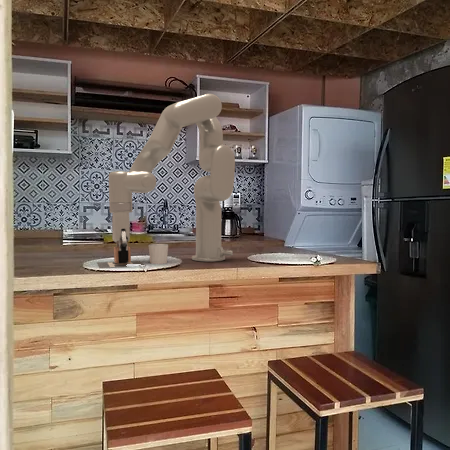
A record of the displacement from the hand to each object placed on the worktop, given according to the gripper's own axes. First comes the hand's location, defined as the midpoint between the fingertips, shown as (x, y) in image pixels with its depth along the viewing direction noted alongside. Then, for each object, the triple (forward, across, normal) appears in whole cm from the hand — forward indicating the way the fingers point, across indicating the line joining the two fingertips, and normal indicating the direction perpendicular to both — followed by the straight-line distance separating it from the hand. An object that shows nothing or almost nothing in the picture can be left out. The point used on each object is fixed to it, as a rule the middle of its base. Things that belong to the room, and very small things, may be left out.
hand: (122, 260), depth 153 cm
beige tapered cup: (+2, 0, +12) cm, 12 cm away
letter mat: (+2, 0, -1) cm, 2 cm away
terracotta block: (0, 0, 0) cm, 0 cm away
